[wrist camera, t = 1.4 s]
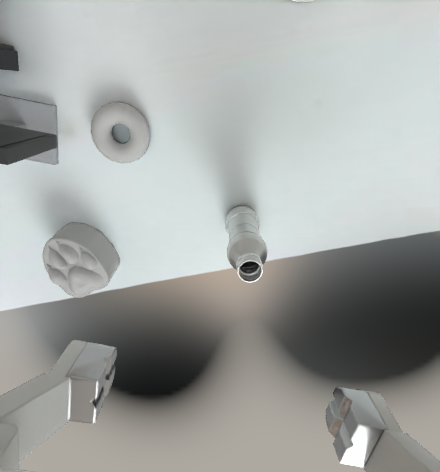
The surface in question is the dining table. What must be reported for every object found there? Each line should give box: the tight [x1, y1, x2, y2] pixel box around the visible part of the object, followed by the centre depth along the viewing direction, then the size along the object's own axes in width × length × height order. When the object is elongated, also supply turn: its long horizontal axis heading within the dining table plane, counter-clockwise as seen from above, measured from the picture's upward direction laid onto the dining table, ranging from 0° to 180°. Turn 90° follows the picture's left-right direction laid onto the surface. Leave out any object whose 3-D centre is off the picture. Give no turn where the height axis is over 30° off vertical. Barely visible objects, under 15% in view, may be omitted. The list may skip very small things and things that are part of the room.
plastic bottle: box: [225, 206, 267, 282], centre depth 52 cm, size 6×7×20 cm
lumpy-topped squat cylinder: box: [43, 223, 120, 298], centre depth 60 cm, size 10×13×9 cm
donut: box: [91, 102, 150, 163], centre depth 53 cm, size 10×3×10 cm
